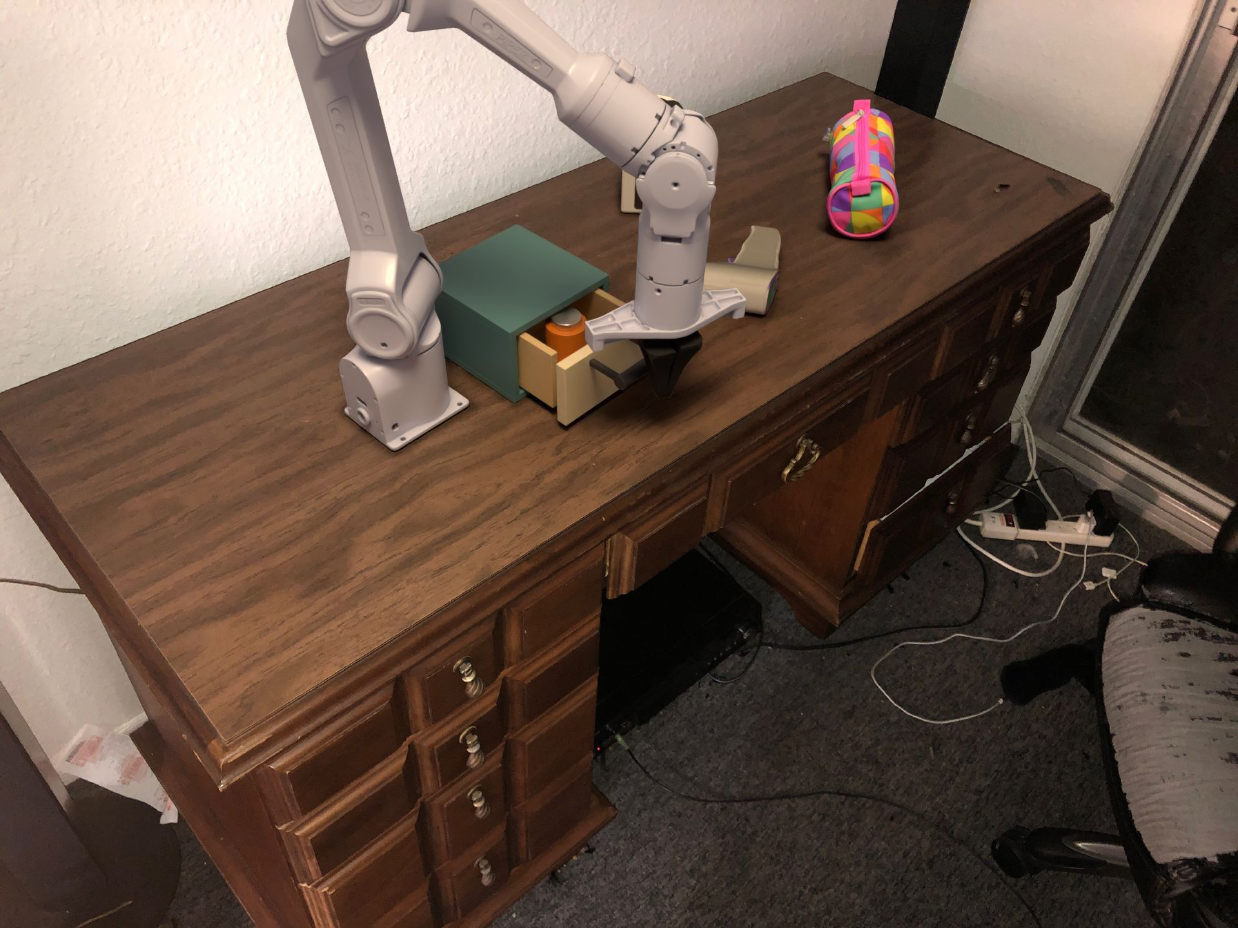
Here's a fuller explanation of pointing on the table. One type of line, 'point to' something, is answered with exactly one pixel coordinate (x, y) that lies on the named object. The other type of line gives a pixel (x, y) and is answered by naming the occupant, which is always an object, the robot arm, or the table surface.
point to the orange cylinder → (565, 332)
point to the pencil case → (862, 173)
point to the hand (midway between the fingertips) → (660, 391)
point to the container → (629, 191)
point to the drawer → (578, 364)
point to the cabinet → (506, 301)
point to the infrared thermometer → (750, 270)
